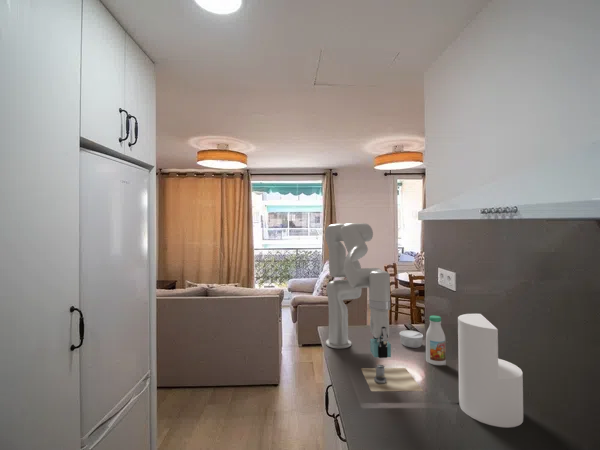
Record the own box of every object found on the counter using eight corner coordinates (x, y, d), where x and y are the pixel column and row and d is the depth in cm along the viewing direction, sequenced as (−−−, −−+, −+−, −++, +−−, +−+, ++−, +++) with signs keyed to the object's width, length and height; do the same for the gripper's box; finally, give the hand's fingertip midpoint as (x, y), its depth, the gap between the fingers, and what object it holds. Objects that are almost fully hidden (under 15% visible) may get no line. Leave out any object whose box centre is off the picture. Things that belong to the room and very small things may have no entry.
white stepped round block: (466, 422, 93) (464, 327, 94) (454, 392, 110) (453, 312, 110) (533, 431, 89) (532, 331, 89) (510, 399, 105) (509, 315, 106)
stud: (372, 378, 118) (372, 363, 118) (384, 378, 118) (384, 363, 118) (375, 384, 114) (375, 368, 114) (388, 384, 114) (387, 368, 114)
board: (360, 371, 127) (360, 368, 127) (405, 370, 127) (405, 367, 127) (371, 394, 109) (371, 391, 109) (423, 394, 109) (423, 390, 109)
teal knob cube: (370, 350, 119) (370, 337, 119) (386, 350, 119) (386, 337, 119) (374, 357, 113) (374, 343, 113) (390, 357, 113) (390, 343, 113)
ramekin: (424, 350, 149) (424, 338, 149) (399, 347, 153) (399, 336, 153) (422, 341, 160) (422, 331, 160) (399, 339, 163) (399, 329, 163)
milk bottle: (423, 364, 133) (422, 316, 133) (430, 358, 139) (429, 313, 139) (442, 369, 128) (441, 320, 128) (448, 363, 134) (447, 316, 134)
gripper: (364, 299, 125) (365, 345, 125) (375, 310, 108) (376, 363, 107) (383, 299, 125) (384, 345, 125) (397, 310, 108) (398, 363, 107)
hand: (380, 353), depth 116 cm, fingers closed on teal knob cube, 6 cm apart
